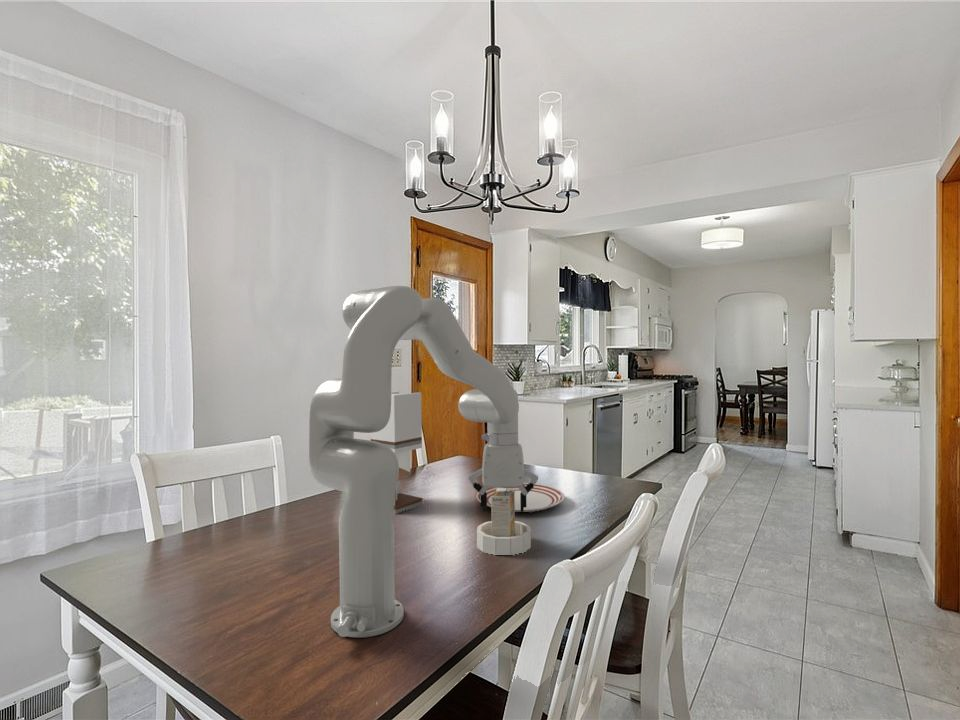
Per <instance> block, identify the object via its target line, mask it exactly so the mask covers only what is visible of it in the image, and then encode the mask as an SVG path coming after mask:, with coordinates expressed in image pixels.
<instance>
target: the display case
mask: <svg viewBox="0 0 960 720" xmlns="http://www.w3.org/2000/svg"><path fill="white" fill-rule="evenodd" d="M422 415H423V413H422V392H412V393H411V392H410V393H400V391H398V390H397V391H396V390H395V391H391V414H390V419H389V422H388V424H387V425H386V426H385V428H383V429H382V430H380V431H378V432H374V433H370V441H376V442H379V443H382V444H384V445H386V446H388V447H389V448H390V449H391V450H392V451H393V452H394V453H395V455H396V457H397V459H398V463H399V474H398V480H397V485H396V491H395V499H394V515H397V514H400V513H403V512H405V510H406V511H409V510H412V509H414V508H416V507H420V506H423V500H424V499H423V497H419V496H414V495H411V494H406V493H402V492H401V481H402V480H403V479H405V478H407V477H409V476H410V475H411V451H414V450H418V449H422V448H423V440H422V439H423V438H422V437H423V435H422V434H423V430H422V428H423V427H422V426H423V425H422V418H423V417H422ZM408 509H409V510H408ZM402 511H403V512H402Z"/></svg>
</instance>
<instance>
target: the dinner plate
mask: <svg viewBox="0 0 960 720" xmlns="http://www.w3.org/2000/svg"><path fill="white" fill-rule="evenodd" d="M528 483H529V482H524V485H525V486H526V485H527V484H528ZM496 489H497V488H493V487H488V489H487V490H486V493H487V507H489V508H491V496H492V495H493V493H494V492H495V491H496ZM512 489H515V512H522V511H521V504H520V493H521V491H520V490H519V488H518V487H517V488H512ZM565 497H566V496H565V493H564V492H563V491H562V490H560V489H558V488H556V487H553V486H550V485H546V484H542V483H536V484H535V485H534V487H533V488H532V489H531V490H530V491H529V492H528V494H527V495H526V507H524V512H529V513H536V512H535V511H537V512H541V511H545V510H547V509H550V508H553V507H555V506H558V505H559V504H561V503H562V502H563V501H564V500H565ZM475 498H476V499H477V501H478V502H479V503H481V495H480V494H479V492H478V491H477V493H476V496H475ZM540 510H541V511H540Z"/></svg>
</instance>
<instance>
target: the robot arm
mask: <svg viewBox="0 0 960 720" xmlns="http://www.w3.org/2000/svg"><path fill="white" fill-rule="evenodd" d="M342 318H343V320H344V323H345V324H346V325H347V327H348V329H350V332H349V334H348V336H347V338H346V341H345V345H344V349H343V357H342V358H343V360H342V375H341V378H339V377H338V378H332V379H328V380H326V381H324V382H322V383H321V384H320V385H319V386H318V388H317V389H316V390H315V392H314V394H313V396H312V398H311V402H310V404H309V418H308V419H309V428H308V430H309V431H308V432H309V433H308V458H309V459H308V461H309V462H308V463H309V468H310V473H311V476H312V477H313V480H315V482H317V483H318V484H319V485H321V486H323V487H325V488H326V487H327V488H329V489H332V490H337V491H341V492H343V493H346V496H345V501H344V503H343V504H342V507H341V510H340V512H339V517H338V555H339V557H338V559H339V561H338V562H339V563H338V564H339V573H338V574H339V605H338V606H337V607H336V608H335V609H334V610H333V612H332V613H331V615H330V625H331V626H330V627H331V628H332V630H333V631H334V632H336V633H337V634H338V636H339V637H340V638H346V637H348V638H356V639H357V638H371V637H375V636H379V635H382V634H386V633H387V632H389V631H391V630H393V629H394V628H396V627H397V626H399V624H400V623H402V621H403V619H404V606H403V604H402V603H401V602H400V601H399V600H397V599H396V596H395V595H396V594H395V588H396V587H395V585H396V584H395V581H396V580H395V528H394V527H395V526H394V525H395V524H394V523H395V521H394V520H395V519H394V518H395V514H394V499H395V491H396V485H397V480H398V474H399V463H398V459H397V457H396V455H395V453H394V452H393V451H392V450H391V449H390V448H389V447H388V446H386V445H384V444H382V443H379V442H376V441H371V439H370V440H368V439H362V438H355V433H362V434H363V433H364V434H371V433H374V432H378V431H380V430H382V429H383V428H385V426H386V425H387V424H388V422H389V419H390V414H391V392H392V373H393V372H392V368H393V356H394V351H395V350H396V347H397V344H398V342H399V341H400V340H401V341H407V340H408V341H409V340H411V341H412V340H413V341H414V340H415V341H416V340H419V341H420V342H422V345H424V347H425V349H426V350H427V352H428V353H429V355H430V357H431V358H432V359H433V362H434V364H435V365H436V366H437V368H438V370H439V372H441V373H442V374H443V375H445V376H447V377H449V378H451V379H453V380H455V381H458V382H460V383H463V384H466V385H468V386H471V387H473V388H474V389H470V390H467V391H465V392H464V393H463V394H462V395H461V396H460V397H459V400H458V402H457V403H458V405H457V406H458V408H457V409H458V411H459V414H460V415H461V416H462V417H463V418H464V419H465V420H467V421H471V422H474V423H475V422H476V423H477V422H478V423H487V427H486V430H487V432H486V433H484V434H481V440H482V441H486V442H487V443H485V444H484V447H483V452H482V462H481V463H482V467H481V468H480V469H478V470H476V471H474V472H473V473H471V474H470V475H469V476H468V481H469V482H470V483H471V485H472V487H473V488H474V490H475V491H477V493H478V492H479V494H480V495H481V502H480V507H481V508H483V512H487V510H488V509H487V508H488V506H487V493H486V490H487V489H488V487H493V488H517V487H518V488H519V490H520V491H521V493H520V504H521V511H522V512H524V507H526V495H527V494H528V492H529V491H530V490H531V489H532V488H533V487H534V485H535V484H537V482H538V480H539V476H538V475H537V474H535V473H533V472H532V471H530V470H528V469H527V468H525V461H524V454H523V453H524V452H523V447H522V444H520V443H519V411H520V405H519V404H520V403H519V396H518V392H517V390H516V389H514V386H513V385H512V383H511V381H510V380H509V378H508V377H507V375H506V374H505V373H504V372H503V371H502V370H501V369H500V368H499V367H497V366H496V365H494V364H493V363H492V362H491V361H489V360H488V359H487V358H485V357H484V356H483V355H481V354H480V353H478V352H477V351H475V349H473V347H472V345H471V344H470V341H469V340H468V338H467V336H466V334H465V332H464V330H463V328H462V327H461V325H460V324H459V322H458V320H457V318H456V317H455V314H454V313H453V311H452V309H451V308H450V306H449V305H448V304H447V302H446V301H444V300H442V299H440V298H435V297H427V298H422V297H421V295H420V293H419V292H418V291H417V290H416V289H415V288H412V287H410V286H406V285H405V286H404V285H391V286H385V287H378V288H370V289H363V290H359V291H356V292H353V293H352V294H350V295H348V297H347V298H346V299H345V301H344V303H343V305H342ZM480 476H481V482H482V485H481V484H480V482H478V481H477V478H478V477H480ZM525 476H526V477H527V478H529V479H530V480H529V482H527V483H528V484H527V485H526V486H525V485H524V483H525Z"/></svg>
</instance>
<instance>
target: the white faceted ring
mask: <svg viewBox="0 0 960 720" xmlns="http://www.w3.org/2000/svg"><path fill="white" fill-rule="evenodd" d="M476 527H477V528H476V548H477V549H478V550H479V551H481V552H482V553H484V554H487V553H488V555H491V554H493V555H492V556H495V555H513V556H516V555H515V554H517V555H520V554H519V553H522V554H524V552H525V553H526V552H528V551H529V550H531V549H530V548H532V538H531V537H532V536H531V535H532V534H531V533H532V530H531V526H530V525H528V524H526V523H524V522H521V521H517V520H515V536H513V537H495V536H492V520H491V521H485V522H483V523H481V524H479V525H477V526H476ZM528 549H529V550H528ZM527 550H528V551H527Z"/></svg>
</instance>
